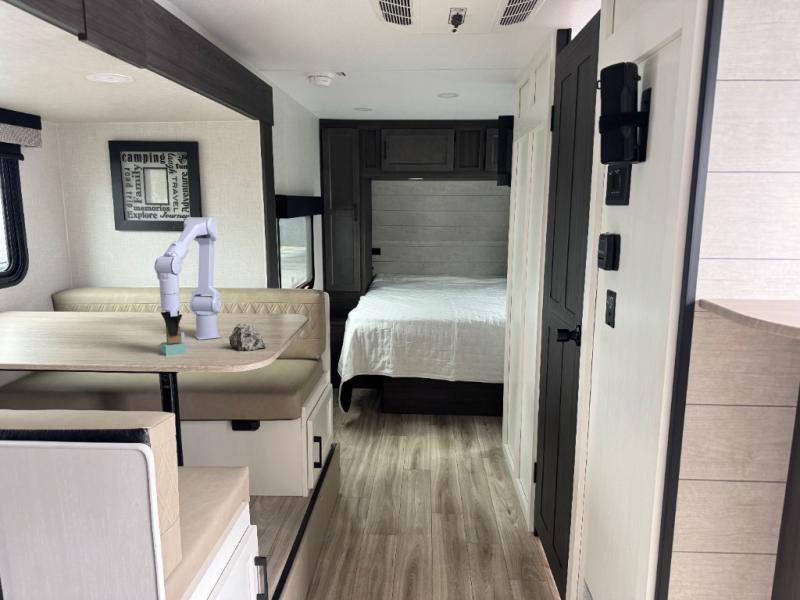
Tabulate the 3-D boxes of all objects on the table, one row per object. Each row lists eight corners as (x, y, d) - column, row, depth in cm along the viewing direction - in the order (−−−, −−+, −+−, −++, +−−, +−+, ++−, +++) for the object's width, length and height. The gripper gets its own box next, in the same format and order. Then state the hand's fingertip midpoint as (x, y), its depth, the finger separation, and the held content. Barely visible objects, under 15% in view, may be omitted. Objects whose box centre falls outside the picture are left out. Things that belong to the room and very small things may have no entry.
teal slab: (162, 352, 175) (161, 342, 175) (181, 350, 179) (180, 340, 178) (166, 356, 171) (165, 346, 170) (185, 354, 174) (185, 343, 174)
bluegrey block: (168, 347, 182) (167, 332, 181) (179, 344, 185) (178, 331, 184) (174, 349, 180) (173, 334, 179) (185, 346, 183) (184, 332, 182)
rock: (230, 358, 174) (248, 335, 172) (219, 340, 179) (236, 317, 178) (260, 366, 184) (277, 344, 183) (249, 348, 190) (265, 327, 188)
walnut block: (166, 341, 175) (165, 326, 174) (179, 340, 177) (178, 325, 176) (168, 344, 172) (167, 328, 171) (181, 342, 174) (180, 327, 173)
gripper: (154, 291, 176) (156, 331, 178) (158, 297, 163) (161, 340, 166) (176, 289, 179) (179, 329, 181) (183, 295, 167) (185, 337, 169)
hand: (172, 334), depth 174 cm, fingers open, 4 cm apart
